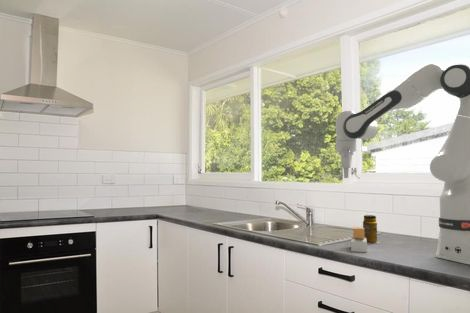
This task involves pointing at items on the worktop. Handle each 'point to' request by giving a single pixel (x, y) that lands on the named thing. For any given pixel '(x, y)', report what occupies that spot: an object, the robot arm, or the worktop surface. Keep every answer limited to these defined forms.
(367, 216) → the condiment
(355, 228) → the orange wooden cube
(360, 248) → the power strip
